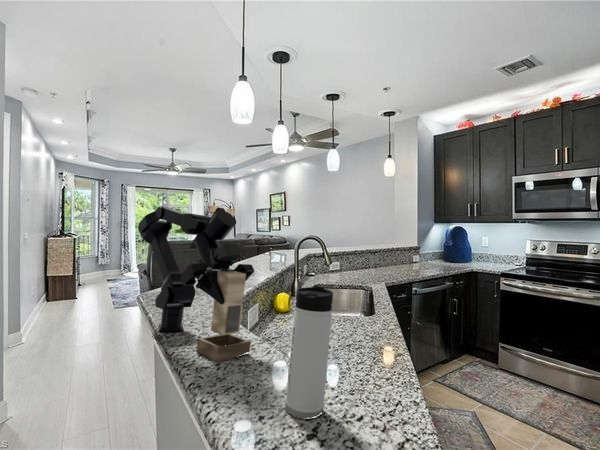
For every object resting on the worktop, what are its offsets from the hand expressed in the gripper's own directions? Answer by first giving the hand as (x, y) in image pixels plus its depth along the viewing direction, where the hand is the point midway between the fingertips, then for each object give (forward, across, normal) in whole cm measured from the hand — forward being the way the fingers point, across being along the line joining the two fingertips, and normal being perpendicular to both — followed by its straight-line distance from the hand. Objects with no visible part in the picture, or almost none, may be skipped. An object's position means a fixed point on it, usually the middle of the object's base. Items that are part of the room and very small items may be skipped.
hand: (232, 302), depth 76 cm
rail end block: (+4, 0, +6) cm, 7 cm away
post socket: (+8, 0, +9) cm, 12 cm away
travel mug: (+28, -6, -11) cm, 31 cm away
